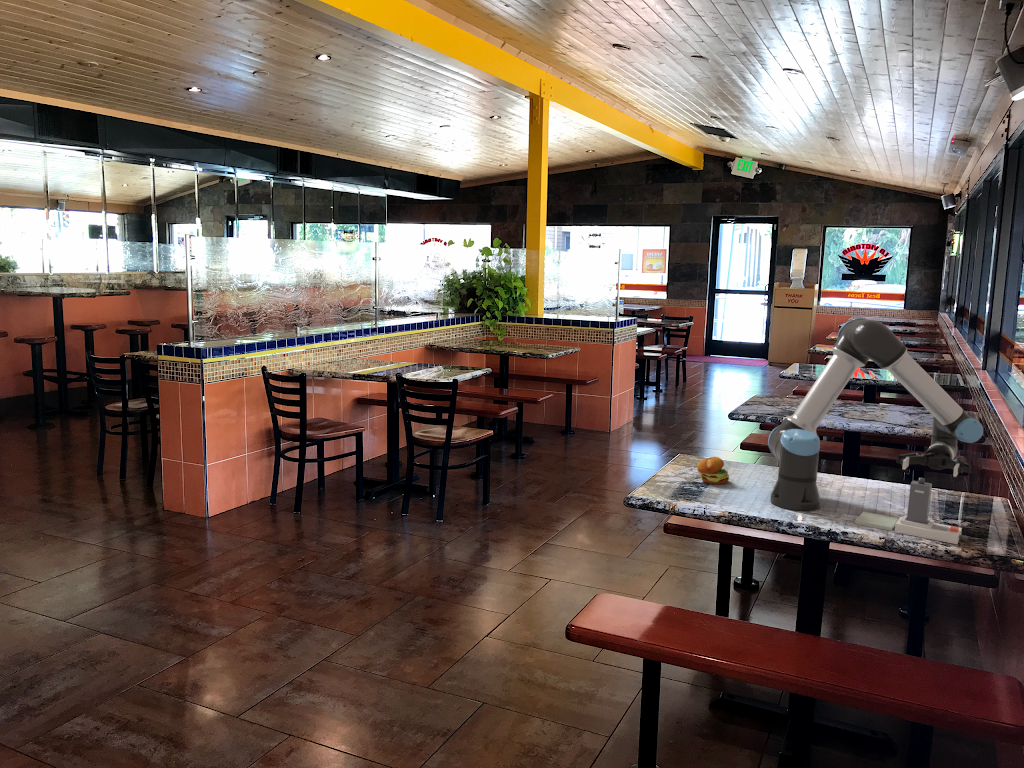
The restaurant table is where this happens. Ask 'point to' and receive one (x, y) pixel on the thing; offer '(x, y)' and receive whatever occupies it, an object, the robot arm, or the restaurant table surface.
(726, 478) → the cheeseburger
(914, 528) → the power strip
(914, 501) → the block
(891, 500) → the restaurant table surface
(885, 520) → the mat
